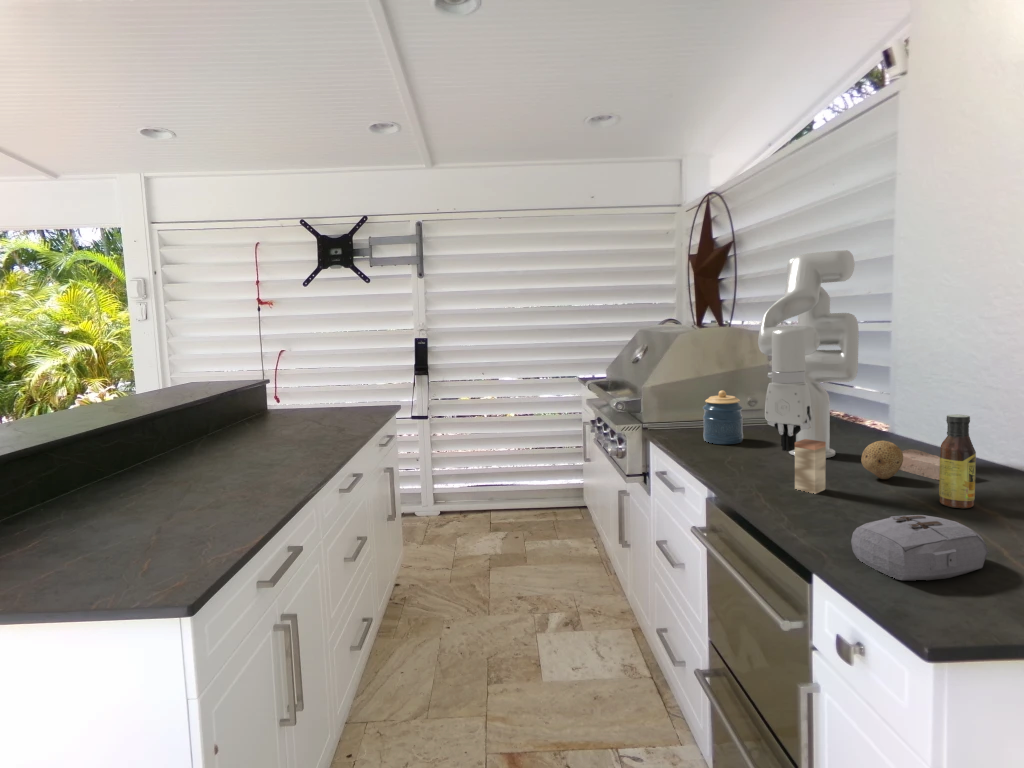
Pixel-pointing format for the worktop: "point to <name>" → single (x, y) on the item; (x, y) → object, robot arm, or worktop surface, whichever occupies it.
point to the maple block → (810, 465)
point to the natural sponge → (882, 459)
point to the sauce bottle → (957, 464)
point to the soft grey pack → (919, 547)
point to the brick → (921, 463)
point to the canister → (723, 419)
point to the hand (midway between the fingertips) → (788, 449)
